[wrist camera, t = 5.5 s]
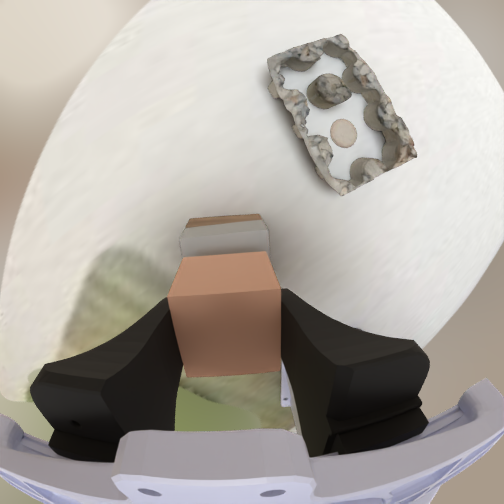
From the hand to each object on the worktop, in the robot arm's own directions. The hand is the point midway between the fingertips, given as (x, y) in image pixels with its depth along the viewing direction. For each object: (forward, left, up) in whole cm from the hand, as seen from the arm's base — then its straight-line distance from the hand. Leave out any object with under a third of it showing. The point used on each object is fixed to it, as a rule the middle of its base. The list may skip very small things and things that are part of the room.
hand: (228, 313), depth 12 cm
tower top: (0, 0, -7) cm, 7 cm away
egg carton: (+10, -8, -10) cm, 16 cm away
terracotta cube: (0, 0, -2) cm, 2 cm away
